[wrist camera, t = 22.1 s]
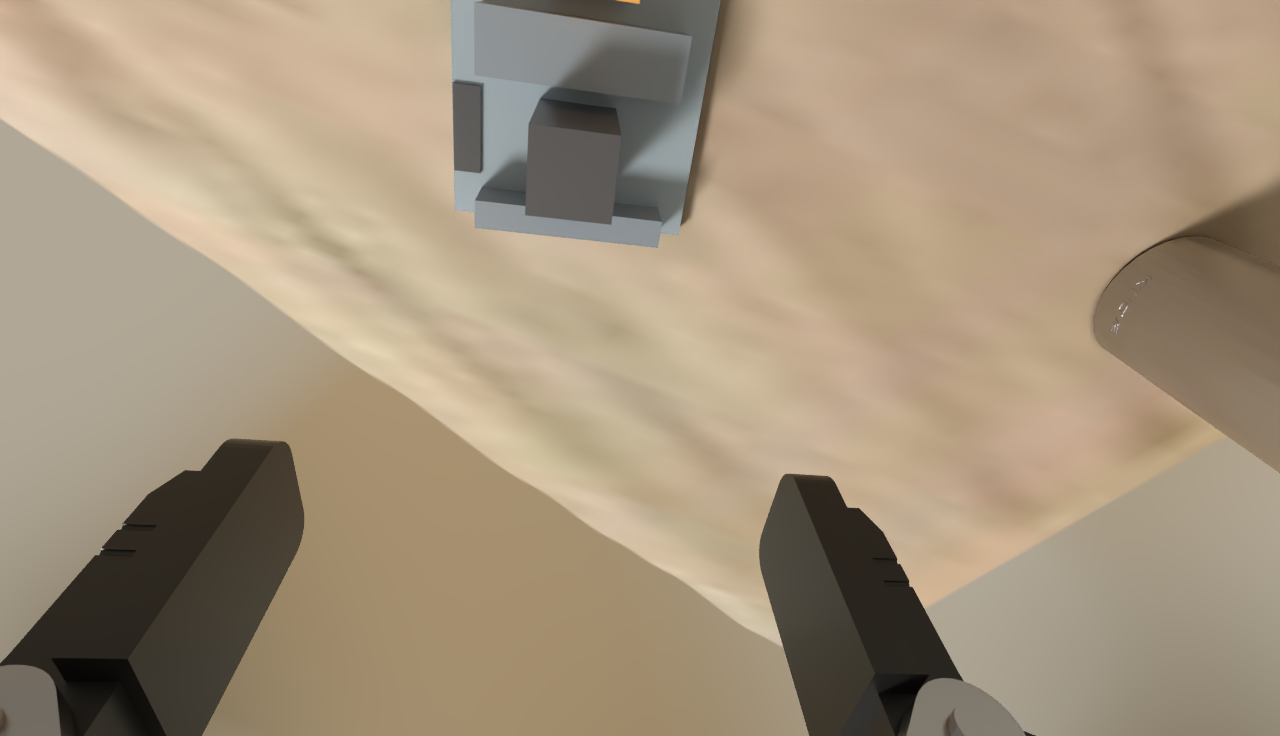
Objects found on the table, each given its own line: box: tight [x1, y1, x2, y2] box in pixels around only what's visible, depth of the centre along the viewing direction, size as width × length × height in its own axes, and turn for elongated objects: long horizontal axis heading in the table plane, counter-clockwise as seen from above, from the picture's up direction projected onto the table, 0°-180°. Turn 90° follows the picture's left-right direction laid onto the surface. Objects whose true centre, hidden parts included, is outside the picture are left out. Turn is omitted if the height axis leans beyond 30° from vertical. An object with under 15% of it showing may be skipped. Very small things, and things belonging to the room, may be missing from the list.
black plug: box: [525, 98, 622, 225], centre depth 30 cm, size 4×4×7 cm
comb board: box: [451, 0, 721, 248], centre depth 30 cm, size 13×18×4 cm
